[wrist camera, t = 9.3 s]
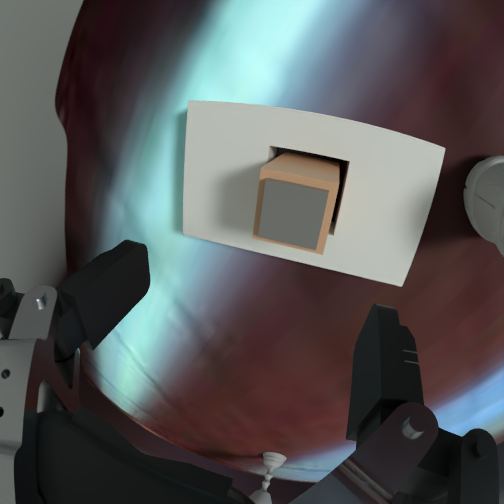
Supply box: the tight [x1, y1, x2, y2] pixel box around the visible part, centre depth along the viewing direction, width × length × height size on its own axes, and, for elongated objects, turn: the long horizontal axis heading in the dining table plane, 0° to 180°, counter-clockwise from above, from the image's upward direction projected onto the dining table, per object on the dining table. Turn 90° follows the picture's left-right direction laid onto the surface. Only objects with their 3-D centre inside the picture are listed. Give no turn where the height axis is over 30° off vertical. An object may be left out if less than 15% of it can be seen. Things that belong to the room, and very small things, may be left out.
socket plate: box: [183, 101, 445, 287], centre depth 23 cm, size 12×20×3 cm, turn 83°
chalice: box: [249, 452, 286, 504], centre depth 41 cm, size 7×7×18 cm
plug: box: [252, 152, 339, 255], centre depth 20 cm, size 5×5×9 cm
